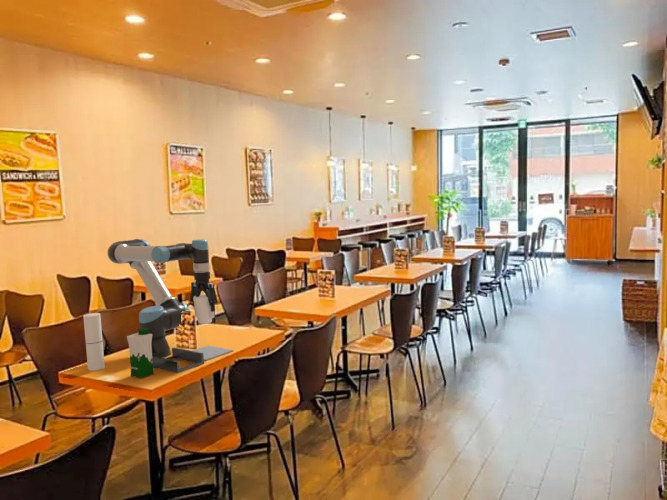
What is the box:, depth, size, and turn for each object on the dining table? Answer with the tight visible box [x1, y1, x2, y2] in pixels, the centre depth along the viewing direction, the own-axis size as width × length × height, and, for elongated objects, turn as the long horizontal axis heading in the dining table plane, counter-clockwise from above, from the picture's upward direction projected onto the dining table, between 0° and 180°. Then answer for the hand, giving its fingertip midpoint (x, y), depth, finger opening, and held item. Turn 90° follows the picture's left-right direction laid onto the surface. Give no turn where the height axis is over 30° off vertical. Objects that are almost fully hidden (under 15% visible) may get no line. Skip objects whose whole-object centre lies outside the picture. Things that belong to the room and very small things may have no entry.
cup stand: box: [152, 347, 205, 374], centre depth 262 cm, size 20×15×5 cm
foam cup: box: [193, 293, 213, 325], centre depth 277 cm, size 10×9×13 cm
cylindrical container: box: [82, 312, 106, 372], centre depth 261 cm, size 7×7×25 cm
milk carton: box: [126, 328, 155, 379], centre depth 249 cm, size 9×9×20 cm
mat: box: [192, 345, 234, 362], centre depth 280 cm, size 18×18×1 cm
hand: (204, 317), depth 278 cm, fingers closed on foam cup, 9 cm apart
